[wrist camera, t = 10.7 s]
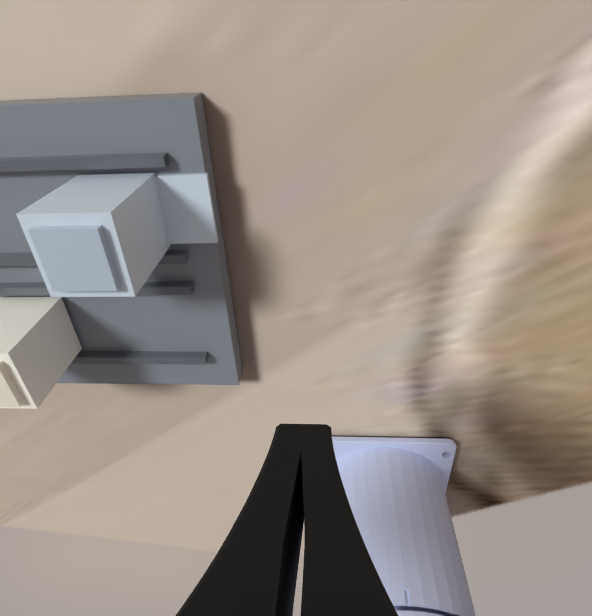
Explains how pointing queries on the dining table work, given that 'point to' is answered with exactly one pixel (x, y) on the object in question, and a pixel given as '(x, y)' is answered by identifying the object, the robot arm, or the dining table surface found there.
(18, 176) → the switch panel
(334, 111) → the dining table surface
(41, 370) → the cream switch
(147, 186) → the grey switch
